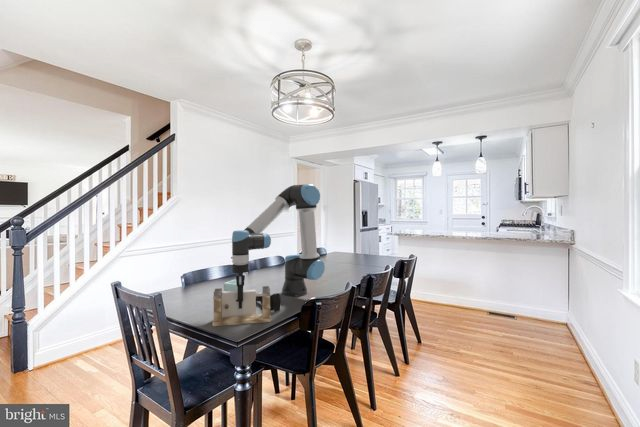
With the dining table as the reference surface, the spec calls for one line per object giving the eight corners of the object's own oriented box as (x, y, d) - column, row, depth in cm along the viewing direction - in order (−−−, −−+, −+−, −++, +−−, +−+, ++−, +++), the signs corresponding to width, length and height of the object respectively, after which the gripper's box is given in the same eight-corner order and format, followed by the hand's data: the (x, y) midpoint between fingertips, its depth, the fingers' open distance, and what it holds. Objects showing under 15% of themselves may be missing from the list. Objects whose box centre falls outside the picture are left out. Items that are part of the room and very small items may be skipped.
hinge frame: (270, 317, 144) (270, 285, 144) (271, 321, 138) (271, 289, 138) (213, 321, 138) (213, 288, 138) (212, 326, 132) (212, 292, 132)
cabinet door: (261, 314, 148) (261, 289, 148) (262, 317, 144) (262, 291, 144) (213, 317, 143) (213, 291, 143) (212, 321, 139) (212, 294, 139)
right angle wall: (240, 298, 176) (240, 285, 176) (223, 295, 181) (223, 283, 181) (252, 293, 187) (252, 280, 187) (236, 290, 192) (236, 278, 192)
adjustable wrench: (255, 309, 171) (281, 310, 153) (251, 310, 169) (277, 311, 151) (253, 293, 172) (279, 293, 154) (249, 294, 170) (275, 294, 152)
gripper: (232, 260, 151) (232, 308, 151) (231, 267, 135) (231, 320, 135) (248, 260, 153) (248, 307, 153) (248, 266, 137) (248, 318, 137)
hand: (240, 313), depth 144 cm, fingers closed on cabinet door, 3 cm apart
